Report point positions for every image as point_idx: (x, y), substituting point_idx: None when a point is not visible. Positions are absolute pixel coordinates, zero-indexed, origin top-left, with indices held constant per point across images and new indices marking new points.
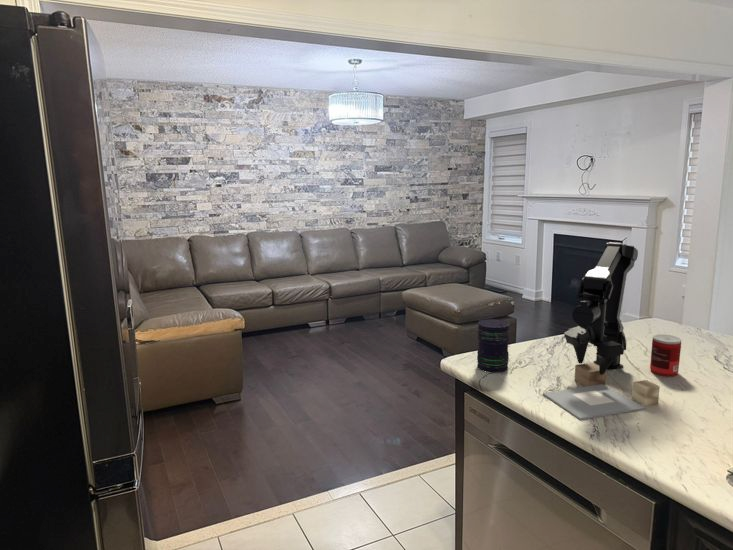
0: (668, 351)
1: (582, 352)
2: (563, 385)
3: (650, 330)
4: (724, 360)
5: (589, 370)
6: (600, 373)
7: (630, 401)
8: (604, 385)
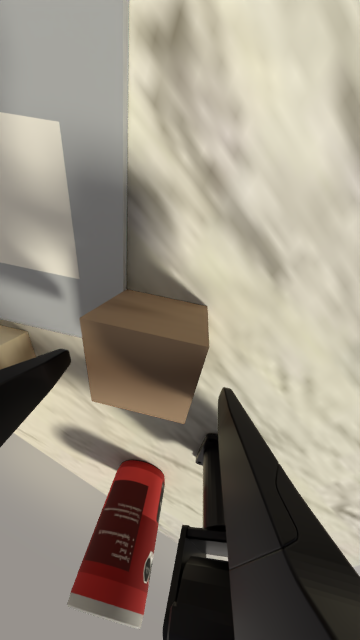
0: (89, 550)
1: (231, 480)
2: (191, 207)
3: None
4: None
5: (101, 339)
6: (55, 350)
7: None
8: None
